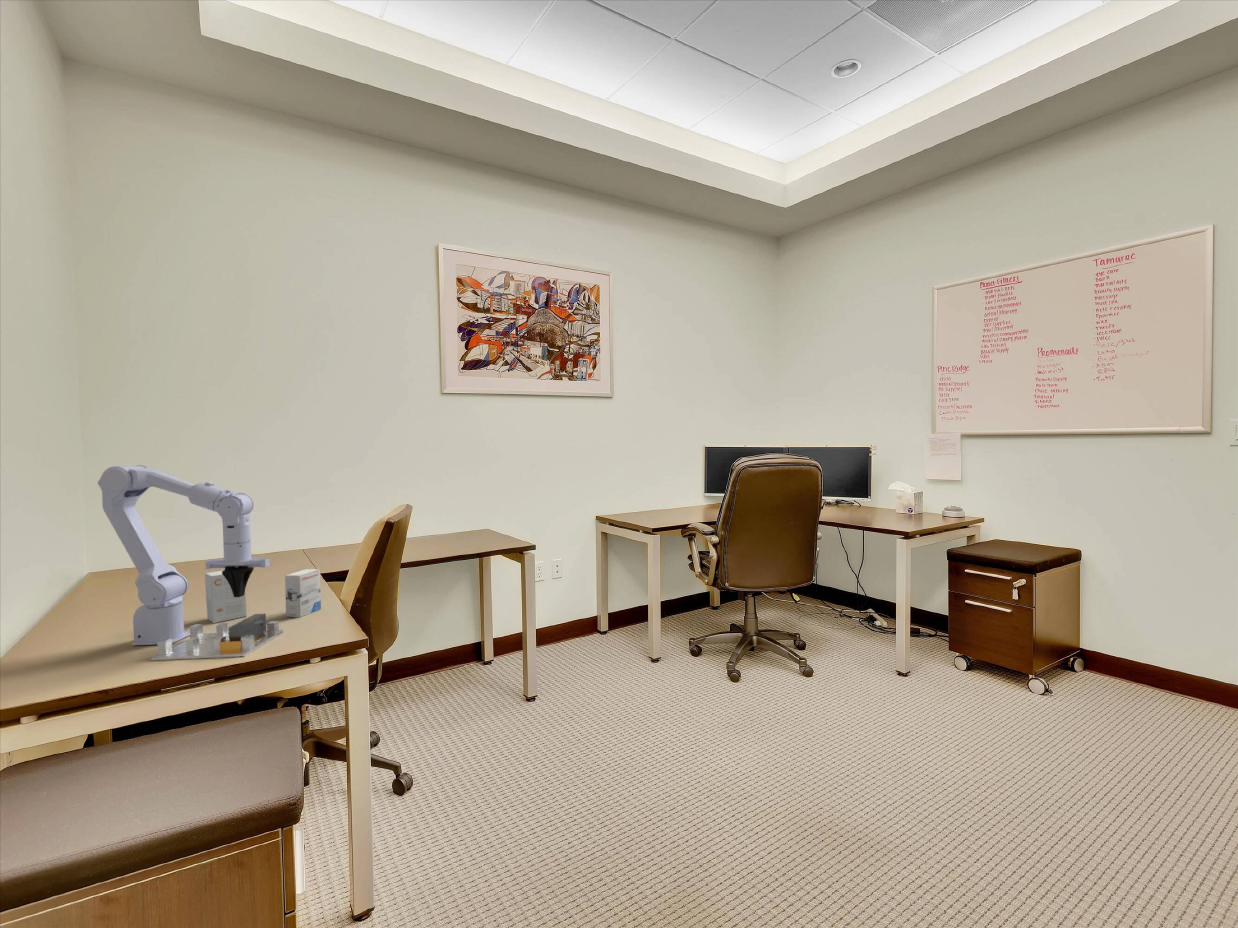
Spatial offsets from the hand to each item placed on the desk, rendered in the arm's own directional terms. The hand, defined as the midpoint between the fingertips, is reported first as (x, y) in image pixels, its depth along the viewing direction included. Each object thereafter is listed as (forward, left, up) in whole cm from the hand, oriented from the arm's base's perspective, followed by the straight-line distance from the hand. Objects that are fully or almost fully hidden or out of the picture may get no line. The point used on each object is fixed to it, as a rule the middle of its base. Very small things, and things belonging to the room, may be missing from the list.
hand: (239, 596), depth 147 cm
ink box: (+7, +19, -10) cm, 22 cm away
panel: (+6, -7, -9) cm, 13 cm away
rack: (0, -8, -10) cm, 13 cm away
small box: (-13, +17, -10) cm, 24 cm away
